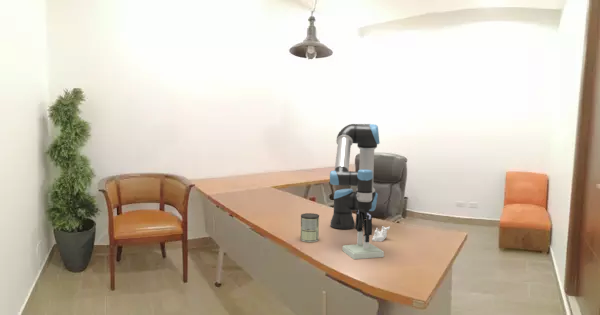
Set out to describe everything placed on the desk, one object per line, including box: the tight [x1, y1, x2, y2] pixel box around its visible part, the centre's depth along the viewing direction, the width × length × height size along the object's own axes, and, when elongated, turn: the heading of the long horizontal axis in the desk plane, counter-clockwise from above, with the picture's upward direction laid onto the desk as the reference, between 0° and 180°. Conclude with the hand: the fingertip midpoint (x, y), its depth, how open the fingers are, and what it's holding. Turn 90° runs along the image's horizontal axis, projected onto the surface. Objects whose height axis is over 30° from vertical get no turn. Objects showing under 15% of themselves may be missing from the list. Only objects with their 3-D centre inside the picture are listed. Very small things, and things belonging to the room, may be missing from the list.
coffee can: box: [300, 212, 320, 243], centre depth 225 cm, size 10×10×14 cm
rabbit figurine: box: [371, 225, 391, 242], centre depth 224 cm, size 12×8×10 cm, turn 118°
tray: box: [342, 243, 385, 260], centre depth 201 cm, size 14×16×3 cm
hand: (362, 246), depth 201 cm, fingers open, 7 cm apart
